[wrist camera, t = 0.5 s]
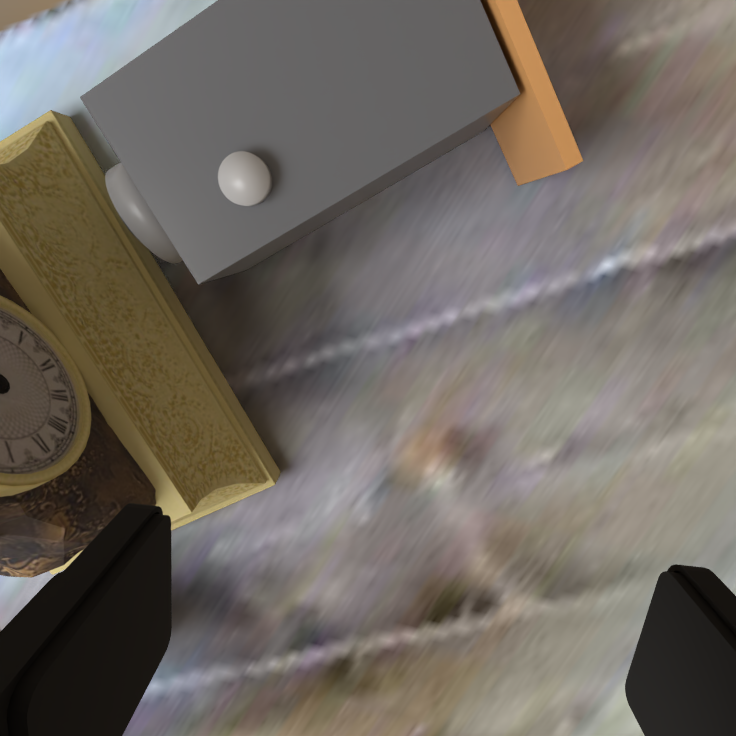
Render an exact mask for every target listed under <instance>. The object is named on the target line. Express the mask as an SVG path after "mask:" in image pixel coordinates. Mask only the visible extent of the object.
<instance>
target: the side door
mask: <svg viewBox="0 0 736 736" xmlns="http://www.w3.org/2000/svg"><path fill="white" fill-rule="evenodd" d="M480 1H481V3H482V6H483V8H484V10H485V13H486V15H487V17H488V20H489V22H490V24H491V27H492V29H493V31H494V34H495V36H496V38H497V41H498V43H499V45H500V48H501V50H502V52H503V54H504V57H505V59H506V61H507V64H508V66H509V68H510V71H511V73H512V75H513V78H514V80H515V82H516V85H517V87H518V89H519V92H520V95H519V96H518V97H517V98H516V99H515V100H514V101H513V102H512V103H511V104H510V105H509V106H508V107H507V108H506V109H505V110H504V111H503V112H502V113H501V114H500V115H499V116H498V117H497V118H496V119H495V120H494V121H493V122H492V123H491V124H490V125H491V127H492V129H493V132H494V134H495V136H496V138H497V140H498V143H499V145H500V147H501V149H502V152H503V154H504V156H505V158H506V160H507V163H508V165H509V167H510V169H511V172H512V174H513V176H514V178H515V181H516V183H517V185H518V186H519V185H522V184H525V183H528V182H531V181H534V180H537V179H540V178H544V177H547V176H550V175H553V174H556V173H559V172H562V171H565V170H568V169H569V168H571V167H573V166H575V165H577V164H578V163H580V162H582V161H583V159H582V156H581V154H580V152H579V149H578V147H577V145H578V144H577V142H576V140H575V137H574V135H573V132H572V130H571V127H570V125H568V123H567V120H566V118H565V115H564V113H563V110H562V108H561V106H560V103H559V101H558V98H557V96H556V93H555V91H554V89H553V86H552V84H551V81H550V79H549V76H548V74H547V72H546V69H545V67H544V64H543V62H542V60H541V57H540V55H539V52H538V50H537V47H536V45H535V43H534V40H533V38H532V35H531V33H530V30H529V28H528V26H527V23H526V21H525V18H524V16H523V13H522V11H521V9H520V6H519V4H518V1H517V0H480Z"/></svg>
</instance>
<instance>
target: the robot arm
mask: <svg viewBox="0 0 736 736" xmlns="http://www.w3.org/2000/svg"><path fill="white" fill-rule="evenodd" d="M170 636H171V518H170V516H169V515H163V511H162V509H161V507H159V506H153V505H144V504H135V503H129V504H127V505H126V506H124V508H123V509H122V510H121V511H120V512H119V513H118V514H117V515H116V516H115V517H114V518H113V519H112V520H111V521H110V522H109V523H108V525H107V526H106V527H105V528H104V529H103V530H102V531H101V532H100V533H99V534H98V535H97V536H96V537H95V538H94V539H93V540H92V542H91V543H90V544H89V545H88V546H87V547H86V548H85V549H84V550H83V551H82V552H81V553H80V554H79V555H78V556H77V558H76V559H75V560H74V561H73V562H72V563H71V564H70V565H69V566H68V567H67V568H66V569H65V570H64V571H63V572H61V573H58V574H57V575H55V576H54V577H53V578H52V579H51V580H50V581H49V582H48V583H47V584H46V585H45V586H44V587H43V588H42V589H41V590H40V591H39V592H38V593H37V594H36V595H35V596H34V597H33V598H32V599H31V600H30V602H29V603H28V604H27V605H26V606H25V607H24V608H23V609H22V610H21V611H20V612H19V613H18V614H17V615H16V616H15V617H14V618H13V619H12V620H11V621H10V622H9V624H8V625H7V626H6V627H5V628H4V629H3V630H2V631H1V632H0V736H122V735H123V733H124V731H125V729H126V727H127V725H128V723H129V721H130V720H131V718H132V716H133V714H134V712H135V710H136V708H137V706H138V704H139V702H140V700H141V698H142V696H143V695H144V693H145V691H146V689H147V687H148V685H149V683H150V681H151V679H152V677H153V675H154V673H155V671H156V669H157V668H158V666H159V664H160V662H161V660H162V658H163V656H164V654H165V652H166V650H167V647H168V644H169V641H170ZM625 691H626V697H627V701H628V703H629V706H630V708H631V710H632V712H633V714H634V716H635V718H636V719H637V721H638V723H639V725H640V727H641V729H642V731H643V733H644V735H645V736H736V596H735V595H734V594H733V593H732V592H731V591H730V590H729V588H728V587H727V586H726V585H725V584H724V583H723V582H722V581H721V580H720V579H719V578H718V577H717V576H716V575H715V574H714V573H713V572H712V571H711V570H709V569H707V568H702V567H693V566H684V565H672V566H671V567H670V568H669V569H668V571H667V572H666V571H665V572H662V573H661V574H660V576H659V578H658V581H657V584H656V587H655V591H654V594H653V597H652V600H651V603H650V606H649V610H648V613H647V616H646V619H645V622H644V625H643V628H642V632H641V635H640V638H639V641H638V644H637V647H636V651H635V654H634V657H633V660H632V663H631V666H630V670H629V673H628V676H627V679H626V684H625Z"/></svg>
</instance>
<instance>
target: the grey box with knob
mask: <svg viewBox="0 0 736 736" xmlns="http://www.w3.org/2000/svg"><path fill="white" fill-rule="evenodd" d="M519 95H520V92H519V89H518V87H517V85H516V82H515V80H514V78H513V75H512V73H511V71H510V68H509V66H508V64H507V61H506V59H505V57H504V54H503V52H502V50H501V48H500V45H499V43H498V41H497V38H496V36H495V34H494V31H493V29H492V27H491V24H490V22H489V20H488V17H487V15H486V13H485V10H484V8H483V6H482V3H481V1H480V0H218V1H216V2H215V3H214V4H212V5H211V6H209V7H208V8H206V9H205V10H204V11H202V12H201V13H199V14H198V15H196V16H195V17H194V18H192V19H191V20H189V21H188V22H187V23H185V24H184V25H182V26H181V27H179V28H178V29H177V30H175V31H174V32H172V33H171V34H169V35H168V36H167V37H165V38H164V39H162V40H161V41H159V42H158V43H157V44H155V45H154V46H152V47H151V48H150V49H148V50H147V51H145V52H144V53H142V54H141V55H140V56H138V57H137V58H135V59H134V60H132V61H131V62H130V63H128V64H127V65H125V66H124V67H122V68H121V69H120V70H118V71H117V72H115V73H114V74H113V75H111V76H110V77H108V78H107V79H105V80H104V81H103V82H101V83H100V84H98V85H97V86H95V87H94V88H93V89H91V90H90V91H88V92H87V93H85V94H84V95H83V96H81V97H80V98H81V100H82V101H83V103H84V105H85V106H86V108H87V109H88V111H89V113H90V114H91V116H92V117H93V119H94V120H95V122H96V124H97V125H98V127H99V128H100V130H101V131H102V133H103V135H104V136H105V138H106V139H107V141H108V143H109V144H110V146H111V147H112V149H113V150H114V152H115V154H116V155H117V157H118V158H119V160H120V163H118V164H117V165H115V166H114V167H112V168H111V169H109V170H108V171H107V172H106V175H105V182H106V187H107V191H108V193H109V196H110V198H111V200H112V203H113V204H114V206H115V208H116V210H117V212H118V214H119V216H120V218H121V219H122V221H123V222H124V224H125V225H126V227H127V228H128V229H129V231H130V232H131V233H132V234H133V235H134V236H135V237H136V238H137V239H138V240H139V241H140V242H141V243H142V244H143V245H144V246H146V247H147V248H148V249H149V250H150V251H151V252H152V253H154V254H155V255H156V256H158V257H159V258H161V259H163V260H164V261H166V262H169V263H173V264H177V263H180V262H181V261H184V263H185V264H186V266H187V267H188V269H189V271H190V272H191V274H192V275H193V277H194V279H195V280H196V282H197V283H198V284H202V283H205V282H209V281H212V280H215V279H219V278H222V277H225V276H229V275H232V274H235V273H239V272H242V271H246V270H248V269H249V268H251V267H253V266H254V265H256V264H258V263H260V262H261V261H263V260H265V259H266V258H268V257H270V256H272V255H273V254H275V253H277V252H278V251H280V250H282V249H283V248H285V247H287V246H289V245H290V244H292V243H294V242H295V241H297V240H299V239H301V238H302V237H304V236H306V235H307V234H309V233H311V232H312V231H314V230H316V229H318V228H319V227H321V226H323V225H324V224H326V223H328V222H329V221H331V220H333V219H335V218H336V217H338V216H340V215H341V214H343V213H345V212H347V211H348V210H350V209H352V208H353V207H355V206H357V205H358V204H360V203H362V202H364V201H365V200H367V199H369V198H370V197H372V196H374V195H376V194H377V193H379V192H381V191H382V190H384V189H386V188H387V187H389V186H391V185H393V184H394V183H396V182H398V181H399V180H401V179H403V178H405V177H406V176H408V175H410V174H411V173H413V172H415V171H416V170H418V169H420V168H422V167H423V166H425V165H427V164H428V163H430V162H432V161H433V160H435V159H437V158H439V157H440V156H442V155H444V154H445V153H447V152H449V151H451V150H452V149H454V148H456V147H457V146H459V145H461V144H462V143H464V142H466V141H468V140H469V139H471V138H473V137H474V136H476V135H478V134H480V133H481V132H483V131H484V130H485V129H486V128H487V127H488V126H489V125H490V124H491V123H492V122H493V121H494V120H495V119H496V118H497V117H498V116H499V115H500V114H501V113H502V112H503V111H504V110H505V109H506V108H507V107H508V106H509V105H510V104H511V103H512V102H513V101H514V100H515V99H516V98H517V97H518V96H519Z"/></svg>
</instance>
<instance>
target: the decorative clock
mask: <svg viewBox="0 0 736 736" xmlns="http://www.w3.org/2000/svg"><path fill="white" fill-rule="evenodd" d="M280 473H281V472H280V470H279V468H278V467H277V465H276V463H275V462H274V460H273V458H272V457H271V455H270V453H269V452H268V450H267V448H266V447H265V445H264V443H263V441H262V440H261V438H260V436H259V435H258V433H257V431H256V430H255V428H254V426H253V425H252V423H251V421H250V420H249V418H248V416H247V415H246V413H245V411H244V409H243V408H242V406H241V404H240V403H239V401H238V399H237V398H236V396H235V394H234V393H233V391H232V389H231V388H230V386H229V384H228V382H227V381H226V379H225V377H224V376H223V374H222V372H221V371H220V369H219V367H218V366H217V364H216V362H215V361H214V359H213V357H212V355H211V354H210V352H209V350H208V349H207V347H206V345H205V344H204V342H203V340H202V339H201V337H200V335H199V334H198V332H197V330H196V328H195V327H194V325H193V323H192V322H191V320H190V318H189V317H188V315H187V313H186V312H185V310H184V308H183V307H182V305H181V303H180V301H179V300H178V298H177V296H176V295H175V293H174V291H173V290H172V288H171V286H170V285H169V283H168V281H167V280H166V278H165V276H164V274H163V273H162V271H161V269H160V268H159V266H158V264H157V263H156V261H155V259H154V258H153V256H152V254H151V253H150V251H149V249H148V248H147V247H146V246H144V245H143V244H142V243H141V242H140V241H139V240H138V239H137V238H136V237H135V236H134V235H133V234H132V233H131V232H130V231H129V229H128V228H127V227H126V225H125V224H124V222H123V221H122V219H121V218H120V216H119V214H118V212H117V210H116V208H115V206H114V204H113V203H112V200H111V198H110V196H109V193H108V191H107V187H106V182H105V175H104V173H103V172H102V170H101V168H100V167H99V165H98V163H97V161H96V160H95V158H94V156H93V155H92V153H91V151H90V150H89V148H88V146H87V145H86V143H85V141H84V140H83V138H82V136H81V134H80V133H79V131H78V129H77V128H76V126H75V124H74V123H73V121H72V119H71V118H70V117H69V116H66V115H63V114H60V113H57V112H54V111H52V110H50V111H49V112H47V113H45V114H44V115H42V116H41V117H39V118H37V119H36V120H34V121H33V122H31V123H29V124H28V125H26V126H25V127H23V128H21V129H20V130H18V131H17V132H15V133H14V134H12V135H10V136H9V137H7V138H6V139H4V140H2V141H1V142H0V575H3V576H11V577H34V576H37V575H40V574H42V573H45V572H47V571H50V572H51V574H52V575H53V574H55V573H57V572H60V571H62V570H64V569H66V568H67V567H68V566H69V565H70V564H71V563H72V562H73V561H74V560H75V559H76V558H77V556H78V555H79V554H80V553H81V552H82V551H83V550H84V549H85V548H86V547H87V546H88V545H89V544H90V543H91V542H92V540H93V539H94V538H95V537H96V536H97V535H98V534H99V533H100V532H101V531H102V530H103V529H104V528H105V527H106V526H107V525H108V523H109V522H110V521H111V520H112V519H113V518H114V517H115V516H116V515H117V514H118V513H119V512H120V511H121V510H122V509H123V508H124V506H126V505H127V504H129V503H135V504H144V505H153V506H159V507H161V509H162V511H163V515H169V516H170V518H171V530H174V529H176V528H178V527H180V526H183V525H185V524H187V523H189V522H192V521H194V520H196V519H198V518H201V517H203V516H205V515H208V514H210V513H212V512H214V511H217V510H219V509H221V508H223V507H226V506H228V505H230V504H232V503H235V502H237V501H239V500H242V499H244V498H246V497H248V496H251V495H253V494H255V493H257V492H260V491H262V490H264V489H266V488H269V487H271V486H273V485H275V484H276V482H277V479H278V477H279V475H280Z"/></svg>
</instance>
